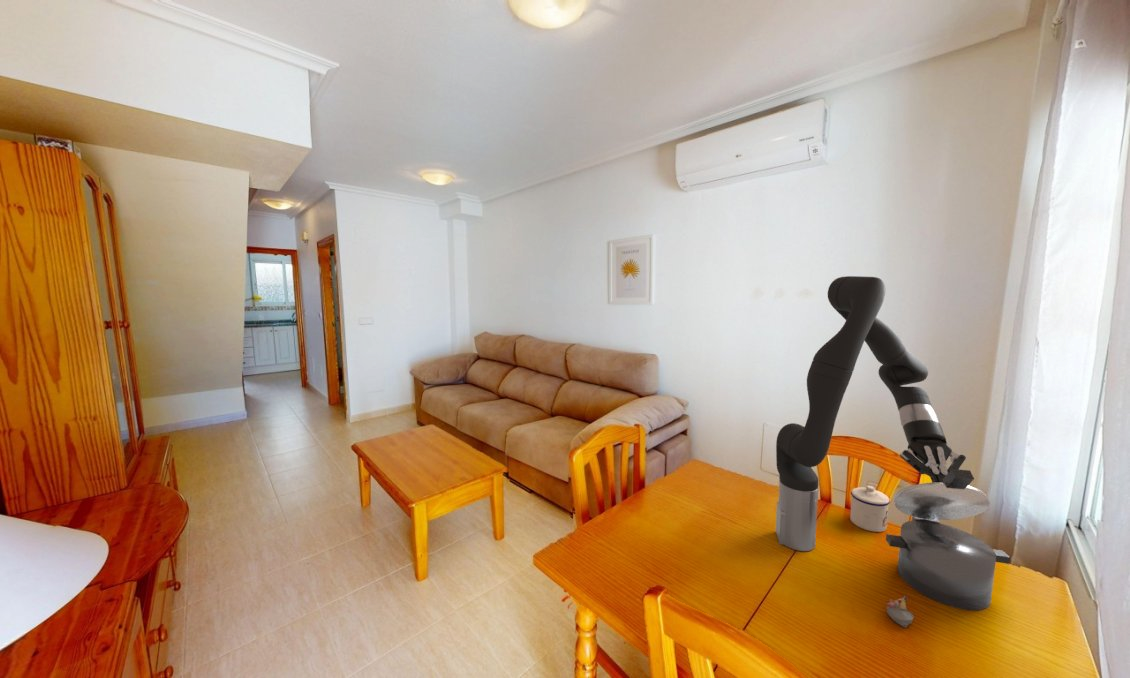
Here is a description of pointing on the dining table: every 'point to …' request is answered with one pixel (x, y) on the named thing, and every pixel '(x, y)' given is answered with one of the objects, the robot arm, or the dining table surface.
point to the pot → (946, 563)
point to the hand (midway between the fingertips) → (944, 492)
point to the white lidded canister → (869, 509)
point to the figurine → (900, 612)
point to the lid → (943, 498)
